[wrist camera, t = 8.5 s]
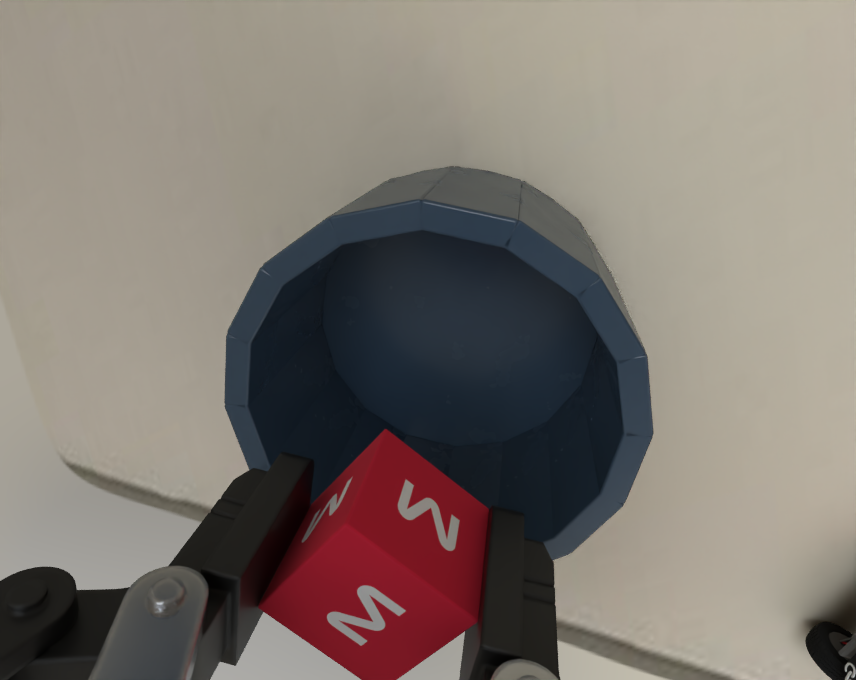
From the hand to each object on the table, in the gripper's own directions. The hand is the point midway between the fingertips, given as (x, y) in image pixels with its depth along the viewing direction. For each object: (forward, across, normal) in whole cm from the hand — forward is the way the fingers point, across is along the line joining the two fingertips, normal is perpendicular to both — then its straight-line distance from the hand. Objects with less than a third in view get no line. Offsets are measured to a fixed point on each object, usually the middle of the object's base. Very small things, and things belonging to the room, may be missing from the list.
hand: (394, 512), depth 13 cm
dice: (0, 0, 0) cm, 0 cm away
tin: (+12, 0, 0) cm, 12 cm away
